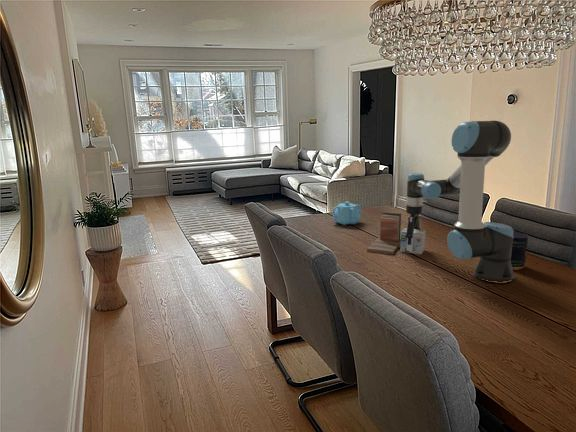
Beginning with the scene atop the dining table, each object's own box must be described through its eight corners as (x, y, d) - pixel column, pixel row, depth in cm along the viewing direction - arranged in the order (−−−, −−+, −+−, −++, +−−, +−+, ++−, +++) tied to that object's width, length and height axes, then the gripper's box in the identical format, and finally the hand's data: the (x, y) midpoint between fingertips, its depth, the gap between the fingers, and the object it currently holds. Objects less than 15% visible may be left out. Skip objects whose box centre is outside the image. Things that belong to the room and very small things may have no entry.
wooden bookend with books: (392, 254, 218) (393, 224, 214) (366, 251, 224) (367, 221, 220) (402, 242, 237) (404, 213, 233) (378, 239, 243) (379, 211, 239)
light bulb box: (399, 251, 222) (400, 231, 219) (402, 248, 228) (403, 227, 225) (421, 254, 217) (422, 233, 214) (424, 250, 223) (425, 230, 220)
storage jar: (522, 263, 202) (525, 232, 199) (527, 271, 193) (531, 238, 189) (498, 262, 205) (501, 230, 201) (502, 269, 196) (505, 237, 192)
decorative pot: (328, 224, 275) (328, 202, 272) (341, 218, 288) (341, 198, 285) (352, 228, 266) (353, 205, 263) (364, 221, 279) (364, 200, 276)
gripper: (411, 199, 229) (409, 238, 234) (400, 209, 207) (398, 253, 213) (426, 200, 226) (424, 240, 231) (417, 211, 204) (414, 255, 209)
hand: (412, 246), depth 222 cm, fingers open, 13 cm apart
